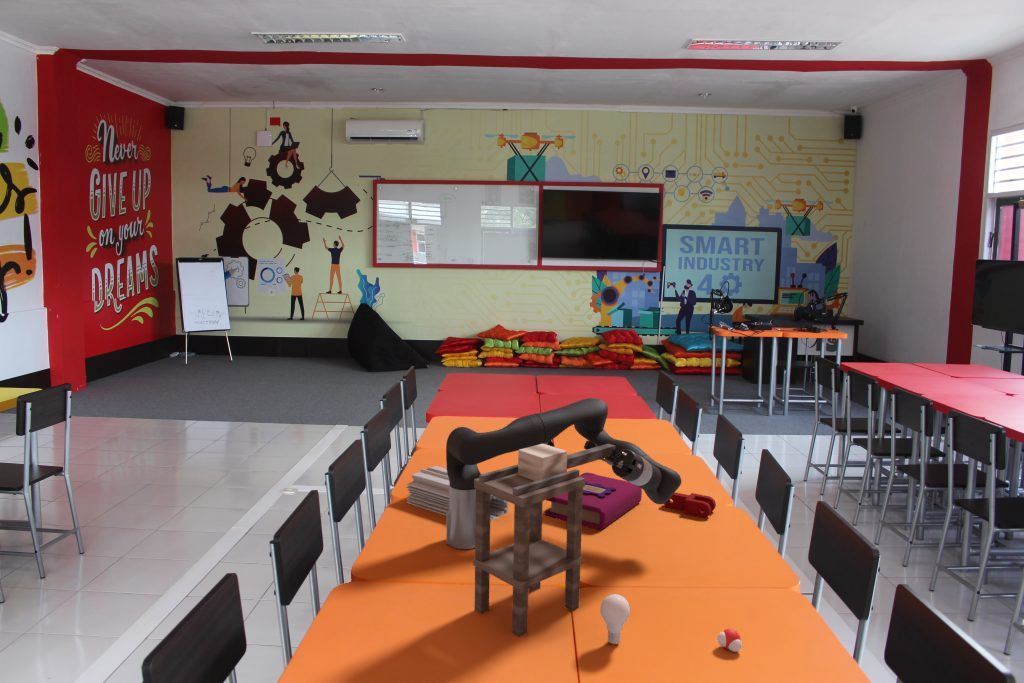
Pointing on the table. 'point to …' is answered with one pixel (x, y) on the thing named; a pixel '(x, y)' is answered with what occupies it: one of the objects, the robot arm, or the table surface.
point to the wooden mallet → (555, 460)
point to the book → (599, 501)
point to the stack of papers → (442, 493)
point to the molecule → (730, 640)
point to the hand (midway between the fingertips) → (598, 448)
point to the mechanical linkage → (692, 504)
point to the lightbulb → (615, 615)
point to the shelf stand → (527, 539)
